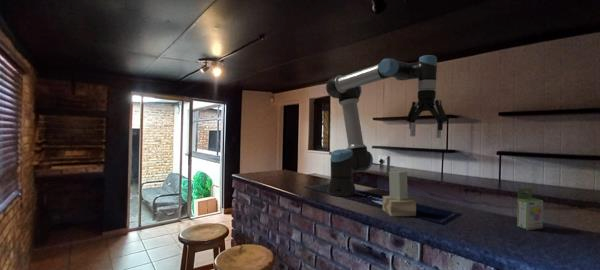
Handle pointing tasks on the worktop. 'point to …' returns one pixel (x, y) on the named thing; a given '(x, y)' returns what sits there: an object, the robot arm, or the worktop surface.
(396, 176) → the sage block
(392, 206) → the birch block
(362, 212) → the worktop surface
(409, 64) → the robot arm
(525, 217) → the ink box
